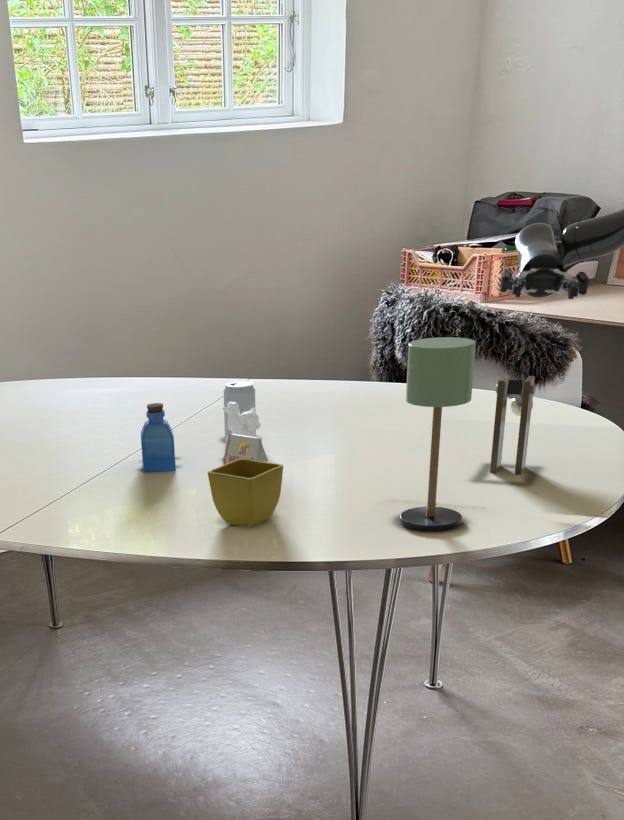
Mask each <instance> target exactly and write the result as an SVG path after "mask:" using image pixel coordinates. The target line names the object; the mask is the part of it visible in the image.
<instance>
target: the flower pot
mask: <svg viewBox="0 0 624 820" xmlns="http://www.w3.org/2000/svg"><path fill="white" fill-rule="evenodd" d="M283 473H284V464H282V463H281V464H280V463H275V462H269V461H268V462H260V461H254V460H248V459H237V460H235V461H232V462H230V463H228V464H225V465H224V464H223V465H221V466H220V465H219V466H217V467H215V468H213V469H210V470H207V477H208V483H209V487H210V493H211V498H212V502H213V504H214V507H215V510H216V511H217V513H218V514H219V516H220V518H221V519H222V520H223V521H224V523H225V524H227V525H232V526H237V527H241V526H242V527H247V528H253V527H255V526H257V525H259V524H261V523H264V522H267V521H269V520H270V518H271V517H272V515H273V514H274V512H275V510H276V508H277V506H278V503H279V501H280V496H281V493H282V491H281V490H282V482H283Z"/></svg>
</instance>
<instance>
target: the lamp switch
mask: <svg viewBox="0 0 624 820" xmlns="http://www.w3.org/2000/svg"><path fill="white" fill-rule="evenodd" d="M523 388H524V380H523V379H509V382H508V388H507V399H512V400H511V403H510V410H511V412H512V413H513V414H514V415H515V416H518V417H521V407H522V398H523ZM533 407H534V401H533V400H532V409H531V411H532V410H533Z"/></svg>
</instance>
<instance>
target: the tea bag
mask: <svg viewBox="0 0 624 820" xmlns="http://www.w3.org/2000/svg"><path fill="white" fill-rule="evenodd" d="M225 447H226V448H225V452H224V454H223V455H224V456H223V460H222V461H223V465H225V464H228V463H230V462H232V461H235V460H237V459H248V460H254V461H260V462H268V463H269V461H268V460H269V459H268V457H267V454H266V452H265V448H264V445H263V441H262V438H261V437H257V436H256V437H250V436H243V435H237V434H229V435H228V442H227V441H226V446H225Z"/></svg>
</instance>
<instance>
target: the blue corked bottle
mask: <svg viewBox="0 0 624 820" xmlns="http://www.w3.org/2000/svg"><path fill="white" fill-rule="evenodd" d="M146 409H147V411H146V412H145V413H146V415H145V416H146V418H147V420H145V421H144V423H143V426H142V429H141V431H140V444H141V445H140V446H141V458H142V470H143V473H156V472H169V471H176V470H177V468H176V452H175V451H176V450H175V436H174V431H173V429H172V427H171V425H170V423H169V422H168V420H167V419H166V418H165V419H164V417H165V416H166V415H165V414H166V412H165V410H164V403H161V402H153V403H148V404H146Z"/></svg>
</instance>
